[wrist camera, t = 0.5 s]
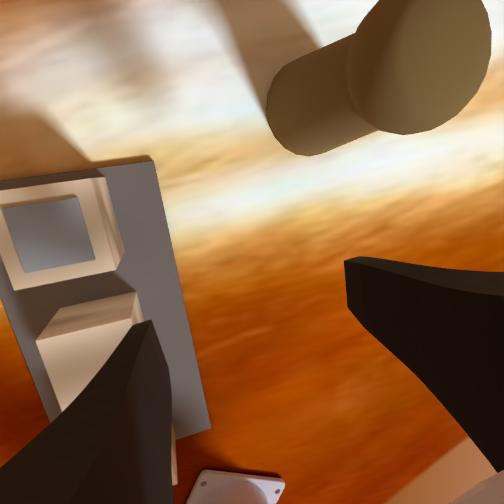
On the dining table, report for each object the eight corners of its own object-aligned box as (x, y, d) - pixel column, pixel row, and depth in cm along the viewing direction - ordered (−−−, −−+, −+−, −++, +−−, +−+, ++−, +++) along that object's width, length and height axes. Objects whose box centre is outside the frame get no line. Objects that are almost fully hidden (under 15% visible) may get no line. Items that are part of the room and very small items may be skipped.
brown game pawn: (255, 140, 20) (351, 107, 10) (281, 41, 19) (417, -108, 9) (334, 167, 22) (482, 162, 12) (361, 78, 21) (547, -11, 11)
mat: (210, 424, 24) (211, 428, 24) (72, 470, 22) (70, 475, 22) (153, 160, 19) (153, 160, 19) (-39, 186, 17) (-44, 186, 16)
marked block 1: (124, 251, 19) (115, 271, 15) (44, 266, 18) (12, 292, 14) (105, 177, 18) (89, 178, 14) (17, 189, 17) (-26, 194, 13)
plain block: (152, 351, 21) (150, 389, 18) (81, 370, 20) (63, 414, 17) (136, 291, 20) (130, 318, 16) (59, 308, 19) (35, 341, 15)
